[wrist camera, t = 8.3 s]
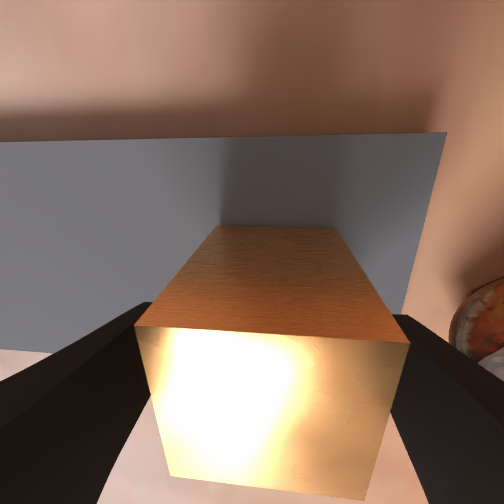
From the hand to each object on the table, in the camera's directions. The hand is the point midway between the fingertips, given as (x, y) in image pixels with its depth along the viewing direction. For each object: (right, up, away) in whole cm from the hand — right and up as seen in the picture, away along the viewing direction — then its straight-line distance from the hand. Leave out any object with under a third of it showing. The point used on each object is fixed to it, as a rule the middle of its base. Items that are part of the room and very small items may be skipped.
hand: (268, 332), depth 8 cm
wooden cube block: (0, +1, +3) cm, 4 cm away
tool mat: (-5, +2, +6) cm, 8 cm away
